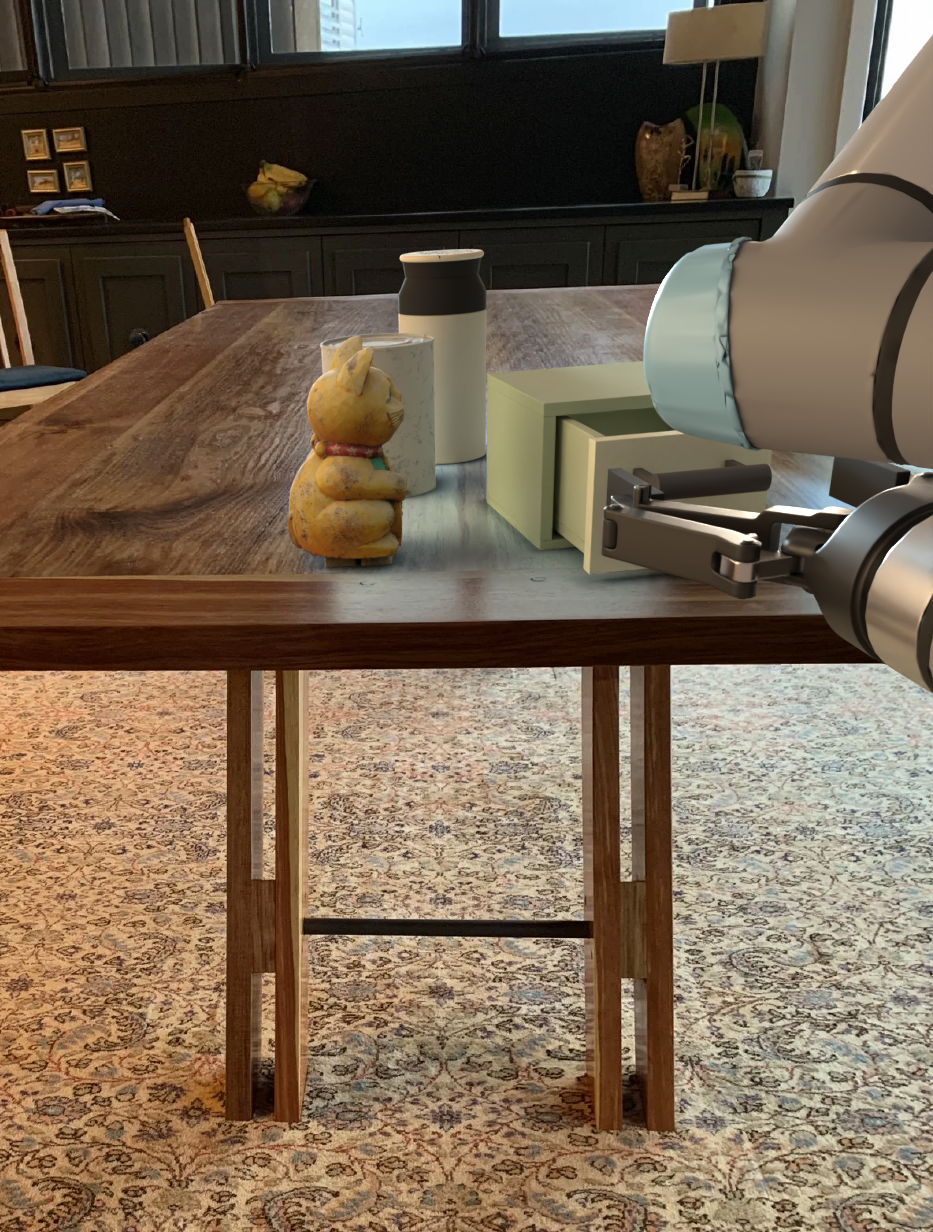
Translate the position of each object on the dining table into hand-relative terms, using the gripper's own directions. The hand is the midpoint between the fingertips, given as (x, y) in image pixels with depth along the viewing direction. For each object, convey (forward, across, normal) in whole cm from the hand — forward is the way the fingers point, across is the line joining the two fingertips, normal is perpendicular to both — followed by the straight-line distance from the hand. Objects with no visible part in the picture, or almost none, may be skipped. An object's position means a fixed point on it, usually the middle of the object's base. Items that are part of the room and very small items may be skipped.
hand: (726, 481), depth 69 cm
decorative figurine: (+17, -20, -8) cm, 27 cm away
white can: (+38, -14, -8) cm, 41 cm away
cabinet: (+22, 0, -8) cm, 24 cm away
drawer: (+11, 0, -7) cm, 13 cm away
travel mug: (+48, -6, -8) cm, 49 cm away
